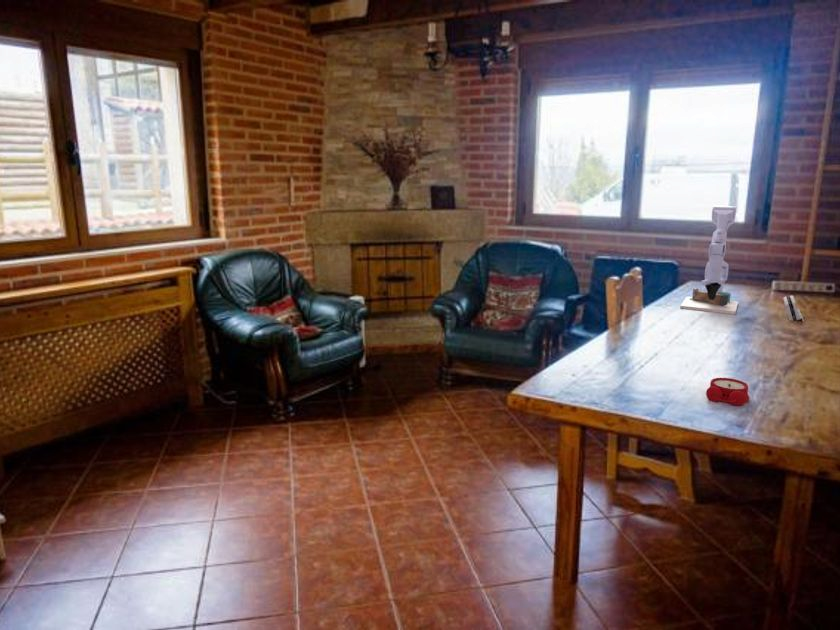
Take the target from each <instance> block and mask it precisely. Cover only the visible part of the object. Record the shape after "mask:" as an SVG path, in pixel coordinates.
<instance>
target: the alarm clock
mask: <svg viewBox="0 0 840 630" xmlns="http://www.w3.org/2000/svg"><path fill="white" fill-rule="evenodd" d="M748 392H749V385H748V383H746V382H745V381H743V380H739V379H735V378H729V377H716V378H712V379H711V381H710V382H709V387H708V388H707V389H706V391H705V396H706V398H707V399H708V400H709V402H710V401H711V402H714V403H716V402H717V403H718V402H722V403H726V404H730V405H732V406H735V407H741V406H743V405H745V404H746V403H748V402H749V401H750V396H749V393H748Z"/></svg>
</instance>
